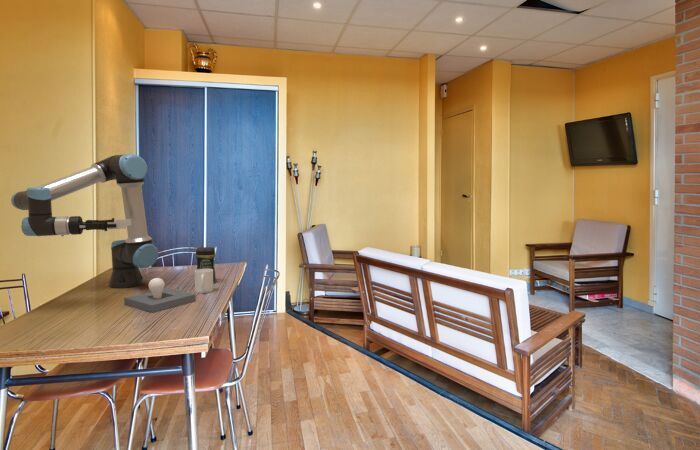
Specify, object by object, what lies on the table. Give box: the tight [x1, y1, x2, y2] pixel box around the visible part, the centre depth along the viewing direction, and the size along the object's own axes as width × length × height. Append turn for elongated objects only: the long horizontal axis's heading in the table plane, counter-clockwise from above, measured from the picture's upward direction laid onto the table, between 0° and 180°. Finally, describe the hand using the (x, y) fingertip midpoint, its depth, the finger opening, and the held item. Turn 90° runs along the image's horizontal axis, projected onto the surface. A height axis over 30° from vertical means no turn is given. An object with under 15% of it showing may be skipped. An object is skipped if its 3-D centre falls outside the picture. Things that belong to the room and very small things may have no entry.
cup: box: [194, 268, 214, 294], centre depth 191 cm, size 8×12×10 cm
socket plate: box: [123, 287, 197, 314], centre depth 173 cm, size 20×20×3 cm
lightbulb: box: [147, 277, 166, 300], centre depth 170 cm, size 6×6×11 cm
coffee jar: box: [195, 246, 217, 284], centre depth 210 cm, size 10×8×19 cm
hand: (128, 223), depth 173 cm, fingers open, 13 cm apart
